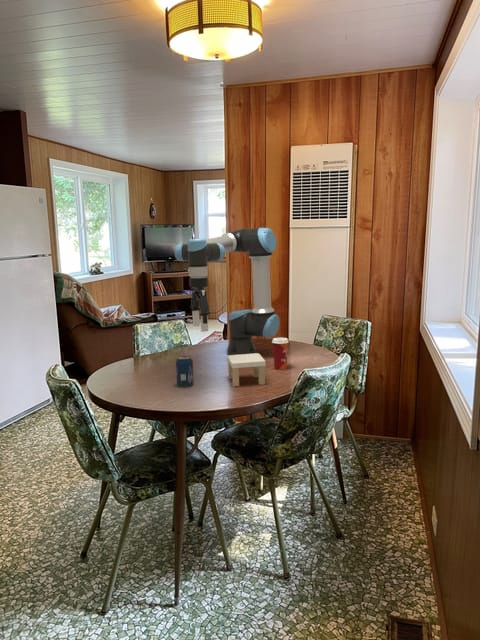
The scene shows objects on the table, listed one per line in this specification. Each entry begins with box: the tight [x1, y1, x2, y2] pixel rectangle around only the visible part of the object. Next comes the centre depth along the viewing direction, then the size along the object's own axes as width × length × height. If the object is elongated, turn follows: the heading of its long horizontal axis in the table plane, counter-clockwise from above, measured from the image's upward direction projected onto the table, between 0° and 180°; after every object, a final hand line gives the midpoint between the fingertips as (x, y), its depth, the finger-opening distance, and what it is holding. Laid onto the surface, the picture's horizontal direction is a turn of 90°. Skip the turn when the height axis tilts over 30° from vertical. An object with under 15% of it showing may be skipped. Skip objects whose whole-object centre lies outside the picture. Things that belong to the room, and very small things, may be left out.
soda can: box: [175, 355, 194, 387], centre depth 200 cm, size 7×7×12 cm
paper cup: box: [271, 337, 289, 371], centre depth 221 cm, size 8×8×14 cm
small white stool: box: [226, 352, 266, 388], centre depth 204 cm, size 14×14×10 cm
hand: (200, 328), depth 197 cm, fingers open, 13 cm apart
